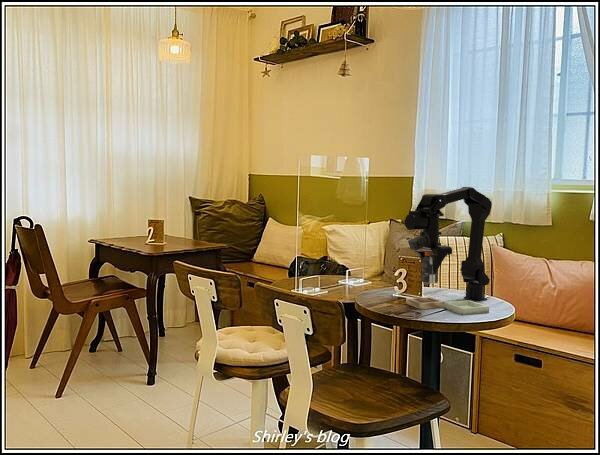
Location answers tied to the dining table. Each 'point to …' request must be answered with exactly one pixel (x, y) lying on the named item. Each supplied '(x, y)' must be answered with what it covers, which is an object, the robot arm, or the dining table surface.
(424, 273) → the pill bottle
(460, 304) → the tray
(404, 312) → the dining table surface
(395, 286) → the dining table surface
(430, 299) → the socket collar
